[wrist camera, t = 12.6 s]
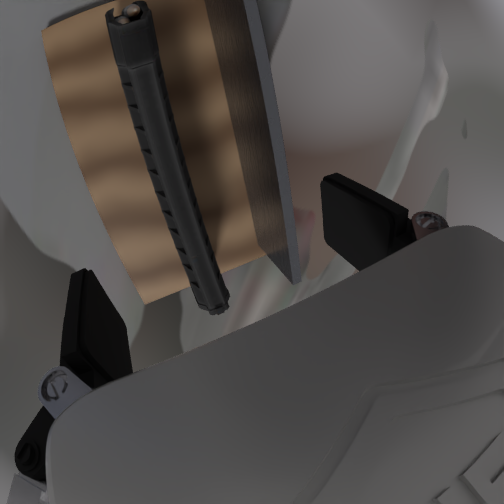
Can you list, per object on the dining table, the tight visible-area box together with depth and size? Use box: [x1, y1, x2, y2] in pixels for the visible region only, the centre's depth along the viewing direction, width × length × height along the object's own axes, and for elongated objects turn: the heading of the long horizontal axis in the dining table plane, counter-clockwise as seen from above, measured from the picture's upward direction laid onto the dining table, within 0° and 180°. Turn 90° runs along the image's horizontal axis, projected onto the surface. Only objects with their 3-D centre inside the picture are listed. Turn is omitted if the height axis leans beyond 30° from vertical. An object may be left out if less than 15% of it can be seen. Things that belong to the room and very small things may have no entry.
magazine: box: [105, 1, 230, 315], centre depth 24 cm, size 17×3×30 cm
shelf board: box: [41, 0, 267, 304], centre depth 28 cm, size 34×18×2 cm, turn 13°
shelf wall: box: [204, 0, 301, 285], centre depth 26 cm, size 30×1×9 cm, turn 13°
